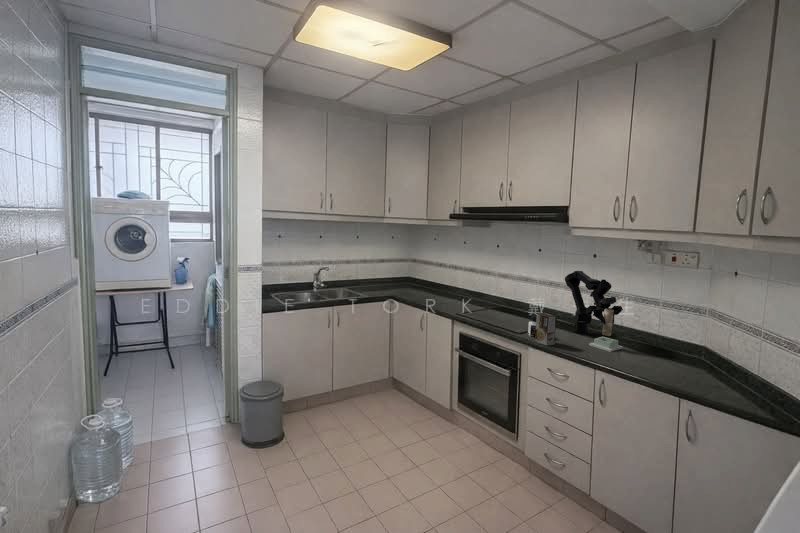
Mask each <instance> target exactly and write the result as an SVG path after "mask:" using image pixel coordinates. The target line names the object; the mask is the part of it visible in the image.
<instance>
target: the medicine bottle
mask: <svg viewBox="0 0 800 533" xmlns="http://www.w3.org/2000/svg"><path fill="white" fill-rule="evenodd" d="M536 318H537V314H532V315H531V316H530V321H528V329H527V330H528V331H527V334H528V333H529V334H528V336H529V337H531V336H535V335H536Z"/></svg>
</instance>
